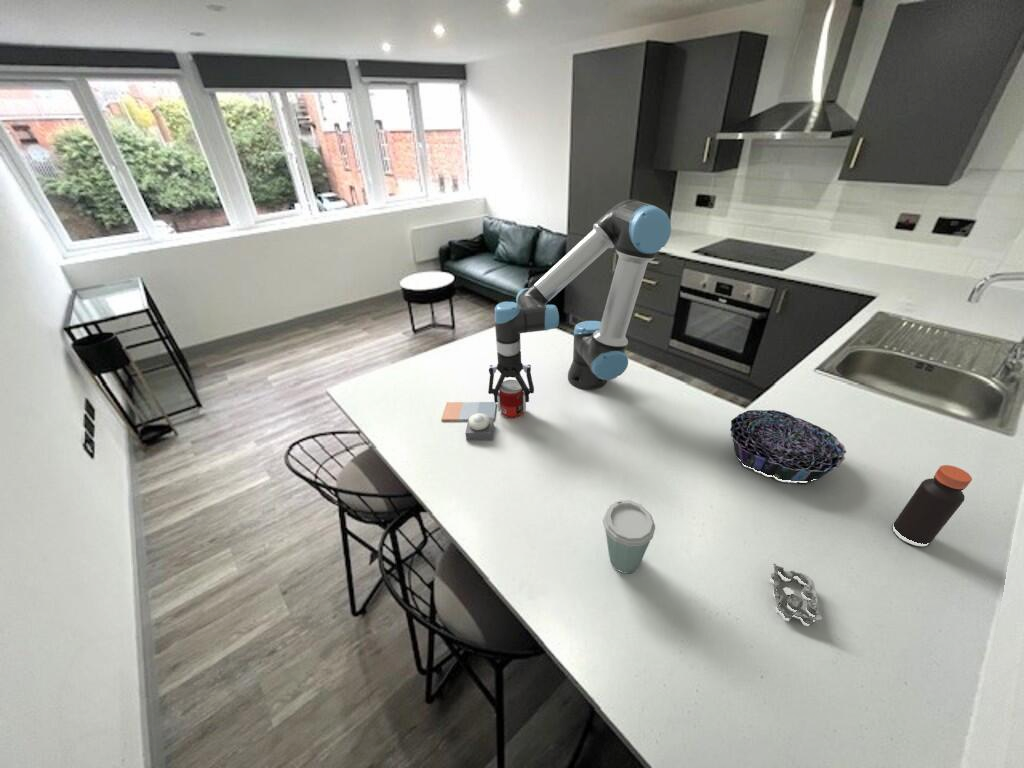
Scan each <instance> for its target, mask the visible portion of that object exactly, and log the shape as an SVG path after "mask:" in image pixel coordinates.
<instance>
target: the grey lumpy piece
mask: <svg viewBox="0 0 1024 768" xmlns="http://www.w3.org/2000/svg"><path fill="white" fill-rule="evenodd" d="M772 565H773V568H774V572H772V573H771V574H770V575H771V578H772V579H773V580H774V585H773V589H772V591H773V590H774V594H775V598H776V599H775V598H774V599H775V602H776V606H777V608H778V610H779V611H781V613H783V614H784V616H785V618H789V619H790V620H791V619H792V616H793V615H795V616H797V617H801V618H802V619H803V621H804V622H805V623H807V624H810V625H812V622H813V620H816V621H820V620H822V619H823V618H822V616H821V612H820V607H819V599H818V596H817V593H816V586H815V581H814V580H813V579H812V577H810V576H809V575H807V574H804V573H802V572H796V571H794V570H790V571H789V570H785V569H784V567H783V566H780V565H777V564H776V563H773V564H772ZM778 571H779V572H781V574H782V575H783V576H784V577H786V578H788V579H792V578H793V577H794V576H798V577H799V578H800V579H801V581H803V582H804V583H806V584H807V585H805V586H803V588H802V590H801V591H802V592H803V594H804V595H805V596H806V597H807V598H810V599H811V600H809V602H808V601H807V602H808V603H807V604H806V606H805V607H807V610H808V611H809V612H810V613H811V614H813V615H815V617H812V616H809V615H807V614H804V613H802V611H800V610H799V609H801V608H802V607H803V604H804V599H802V597H800V596H798V595H796V594H795V595H794V594H791V595H790V597H789V596H788V598H787V601H786V602H787V603H788V605H789V606H790V607H791V608H792V609H794V610H797V611H796V612H794V613H793V612H791V614H787V611H786V610H785V609H784V607H781V605H782V603H783V601H784V598H785V597H784V595H781V594H780V593H779V592H778V591H776V589H777V590H778V589H779V588H780V586H781V585H782V584H781V581H782V580H781V578H780V577H779V576H778ZM792 580H793V579H792ZM780 604H781V605H780ZM779 605H780V607H779ZM798 610H799V611H798Z"/></svg>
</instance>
